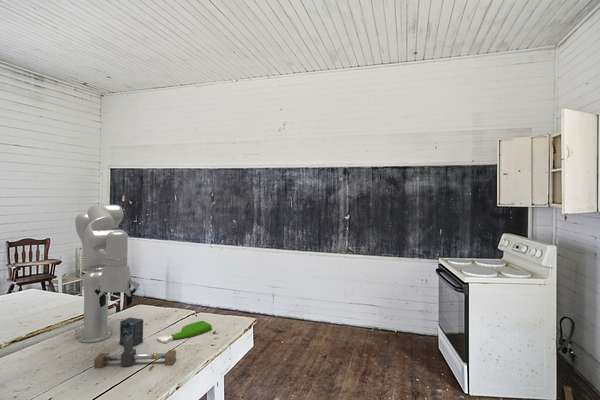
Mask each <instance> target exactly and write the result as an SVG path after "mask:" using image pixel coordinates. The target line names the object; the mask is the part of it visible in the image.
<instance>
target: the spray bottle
mask: <svg viewBox="0 0 600 400" xmlns="http://www.w3.org/2000/svg"><path fill="white" fill-rule="evenodd" d="M212 328H213V325H212V324H211V323H209V322H207V321H205V320H199V321H196V322H192V323H189V324H186V325H184V326H183V327H182V329H181V331H180V332H176V333H173V334H170V335H168V334H166V335H164V336H160V337H159V336H157V337H156V339H157V341H159V342H160V343H163V344H168V343H169V342H170V341H176V340H183V339H187V338H189V339H190V338H191V337H192V338H193V337H196V336H199V335H202V334H205V333H207V332H209V331H211V330H212Z"/></svg>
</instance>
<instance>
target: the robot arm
mask: <svg viewBox="0 0 600 400" xmlns="http://www.w3.org/2000/svg"><path fill="white" fill-rule="evenodd" d="M123 210H124V209H123V207H121V206H120V205H119V204H94V205H92V206H90V207H89V208H88V210H87V212H83V213H80V214H78V215H76V217H75V222H74V225H75V226H74V227H75V230H76V232H77V235H78V237H79V239H80V241H81V244H82V254H83V256H82V257H83V262H84V266H85V268H87V269H90V270H89V271H86V272H85V273H84V274H83V275H82V277H81V280H82V281H81V283H82V290H83V327H82V328H80V327H79V328H75V329H74V335H80V336H79V337H78V339H79V342H82V343H85V344H86V343H87V344H88V343H89V344H90V343H96V342H97V343H98V342H101V341H104V340H106V339H108V338H110V337H111V336H112V331H111V330H109V329H108V326H109V325H108V322H109V321H108V320H109V319H108V318H109V316H108V315H109V314H108V313H109V311H108V310H109V299H108V296H107V294H108V293H109V294H110V293H111V294H112V293H114V294H115V293H118V294H119V293H125V294H126V295H127V296H126V299H125V306H126V307H129V306H131V305H132V303H133V295H134V294H135V292H137V291H138V289H139V287H140V283H138V282H136V281H135V280H132V275H131V269H130V265H129V264H128V251H129V250H128V247H129V245H128V242H129V241H128V240H129V239H128V238H129V235H128V233H127V232H126V231H125V230H123V229H115V228H117V227H118V226H119V224H120V223H121V222H122V221H123V219H124V211H123ZM91 269H92V270H91ZM132 286H133V289H131V287H132Z"/></svg>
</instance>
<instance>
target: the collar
mask: <svg viewBox="0 0 600 400" xmlns="http://www.w3.org/2000/svg"><path fill="white" fill-rule="evenodd" d="M133 354H137V349H136V348H134V347H133V334H131V335H129V336H128V337H127V338H126V340H125V341H124V345H123V351H122V353H121V354H120V355H121V360H120V367H124V366H125V367H126V366H133V364H134V363H135V361H136V360H132V355H133Z"/></svg>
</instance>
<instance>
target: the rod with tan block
mask: <svg viewBox="0 0 600 400" xmlns="http://www.w3.org/2000/svg"><path fill="white" fill-rule="evenodd" d="M93 359H94V360H93V364H94V365H93V368H94V369H103V368H104V367H105V366H106V365H107V364H108V363H109V362H114V361H116V362H117V361H121V354H109V352H100V353H99V354H98V355H97V356H96V357H95V358H93ZM162 359H164V366H173V365H174V363H175V361H176V360H177V350H176V349H173V350H172V349H169V350H168V351H167V352H161V353H160V352H154V353H136V354H133V355H132V360H135V361H138V360H142V361H143V360H162ZM154 367H155V365H151V366H150V367H149V368H148V369H147V371H149V372H151V371H152V370H153V368H154Z"/></svg>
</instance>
